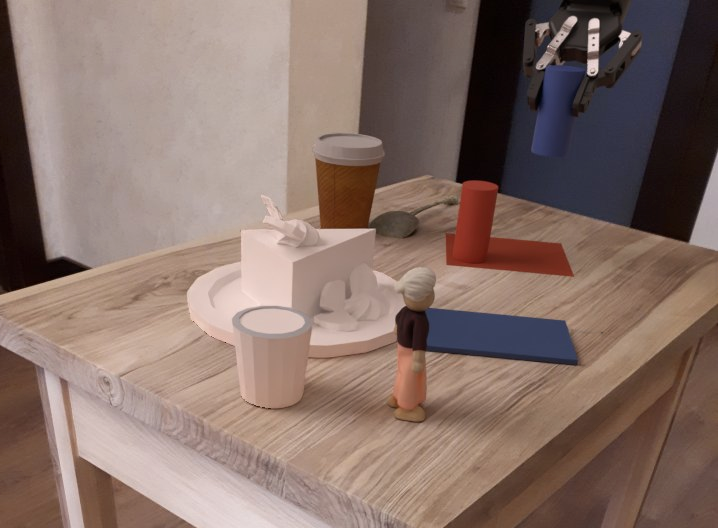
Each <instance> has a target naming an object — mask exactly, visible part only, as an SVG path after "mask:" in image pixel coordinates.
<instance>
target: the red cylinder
mask: <svg viewBox="0 0 718 528" xmlns="http://www.w3.org/2000/svg"><path fill="white" fill-rule="evenodd" d="M498 193H499V185H497V184H496V183H493V182H490V181H485V180H467V181H463V182H462V184H461V192H460V198H459V199H460V200H459V206H458V213H457V220H456V227H455V233H454V234H455V241H454V248H453V255H452V256H453V258H454V259H456V260H458V261H461V262H465V263H482V262H484V261H486V259H487V253H488V247H489V241H490V237H491V235H492V228H493V222H494V217H495V212H496V211H495V210H496V205H497V198H498Z"/></svg>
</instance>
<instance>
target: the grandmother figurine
mask: <svg viewBox="0 0 718 528" xmlns="http://www.w3.org/2000/svg"><path fill="white" fill-rule="evenodd" d="M397 282H398V283H397V284H396V286H395V288H394V289H395V291H396V293H398V294H399V293H401V294H403V299H404V303H405V305H406V306H405V307H403V308H402V309H401V310H400V311H399V312H398V313H397V314H396V317H395V327H394V334H395V335H396V336H397V341H396V342H397V353H396V355H397V357H396V366H397V367H396V368H397V369H396V374H395V378H394V384H393V386H392V387H393V388H392V395H390V396H389V397H388V398H387V400H386V403H387V405H388V406H389V407H391V408H395V410H394V412H393V416H394V418H395V419H397V420H402V421H408V422H415V423H418V422H423V421H425V419H426V412H425V410H424V408H422V407H421V406H419V404H422V403H424V402H425V401H426V400H427V391H428V389H427V387H428V385H427V361H426V360H427V359H426V353H427V351H426V349H427V337H428V334H429V326H430V325H429V321H428V318H427V315H426V312H425V310H427V309H428V308H431V307H432V305H433V303H434V302H435V298H436V297H435V296H436V294H435V289H434V288H435V287H436V282H437V276H436V273H435V271H434V270H433V269H431V268H429V267H423V266H418V267H417V266H416V267H414V268H411V269H410V270H408V271H407V272H406V273H405V274H404V275H402V277H401V278H400V279H399V281H397Z"/></svg>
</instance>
